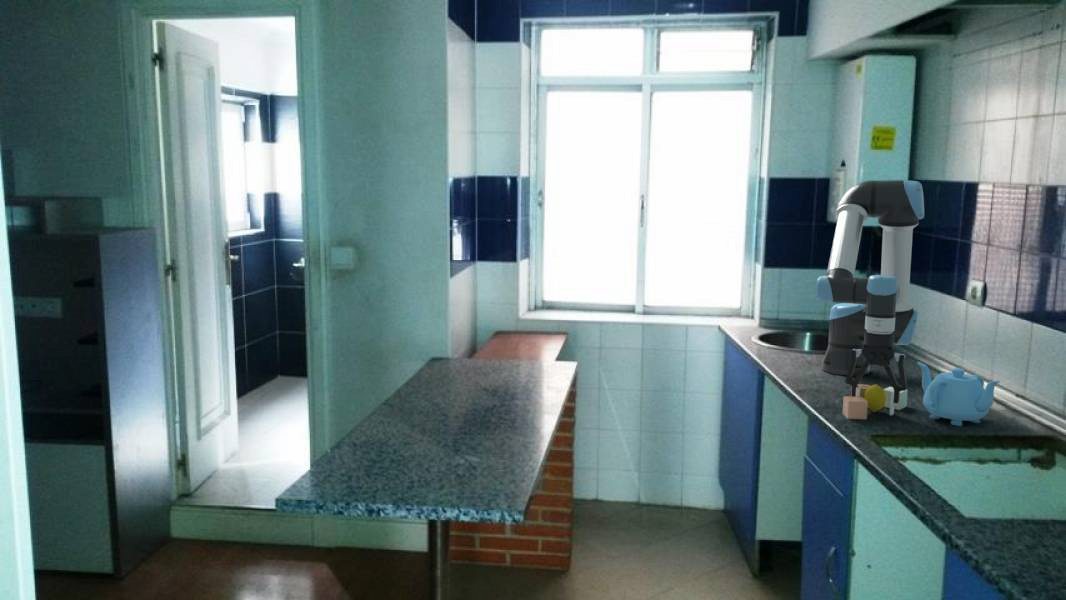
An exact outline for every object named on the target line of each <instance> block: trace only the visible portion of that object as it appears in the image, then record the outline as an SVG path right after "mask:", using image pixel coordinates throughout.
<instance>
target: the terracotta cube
mask: <svg viewBox="0 0 1066 600" xmlns="http://www.w3.org/2000/svg"><path fill="white" fill-rule="evenodd" d="M842 399H843V401H842V415H844V416H845V419H848V420H867V419H868V402H867V401H866V400H865V399H864V398H863V397H851V395H850V396H846V395H845V396H843V398H842Z"/></svg>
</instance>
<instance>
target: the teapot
mask: <svg viewBox="0 0 1066 600" xmlns="http://www.w3.org/2000/svg"><path fill="white" fill-rule="evenodd" d="M916 363H917V365H918V366H919V367H920V368H921V372H922V379H921V387H922V390H923V393H924V394H923V398H922V404H923V407H924V408H925V409H926V410H927V411H928V412H929V414H930V415H929V416H928V418H929V417H930V418H929V419H932V418H934V419H933V420H940V419H941V418H942V419H948V420H950V425H951V424H952V425H951V426H953V425H957V426H956V427H963V426H962V425H963V421H965V422H966V421H968V422H970V423H972V422H973V424H981V419H982V418H984V417H985V416H986V415H987V414H988V413H989V412H990V409H991V407H992V406H993V403H994V398H995V397H994V396H995V395H994V394H995V388H996V386H997V384H999V383H1000V382H1001V380H995V381H994V380H993V381H992V380H991V381H989V382H987V384H986V386H985V387H984V385H985V381H984V378H983V377H982V376H980V375H978V374H967V373H965V372H966V370H965V369H963V368H958V367H957V368H955V367H954V368H951V372H940V373H939V374H937V375H936V376H935V377H934V379H933V380H932V376H931V371H930V369H929V367H928V366H927V365H926V364H925V363H923V362H919V361H917V362H916Z"/></svg>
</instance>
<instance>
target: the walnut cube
mask: <svg viewBox="0 0 1066 600" xmlns="http://www.w3.org/2000/svg"><path fill="white" fill-rule="evenodd" d="M850 386H851V385H850ZM858 386H861V387H860V397H863V398H864V396H865V392H866V390H867V389H868V388H869V387H870V386H871V385H870V384H860V383H858ZM850 397H852V386H851V390H850Z"/></svg>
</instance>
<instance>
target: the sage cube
mask: <svg viewBox="0 0 1066 600" xmlns="http://www.w3.org/2000/svg"><path fill="white" fill-rule="evenodd" d="M883 390H884V391H885V394H886V402H885V405H884V406H883V408H888V409H890V400H891V391H892V390H894V389H893V387H892V386H888V387H886V388H883ZM907 402H908V389H906V390H905V391H900V393H899V401H898V403H894V410H898V411H900V410H902V409H904V408H906V407H907V406H908V405H907V404H908V403H907Z"/></svg>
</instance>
